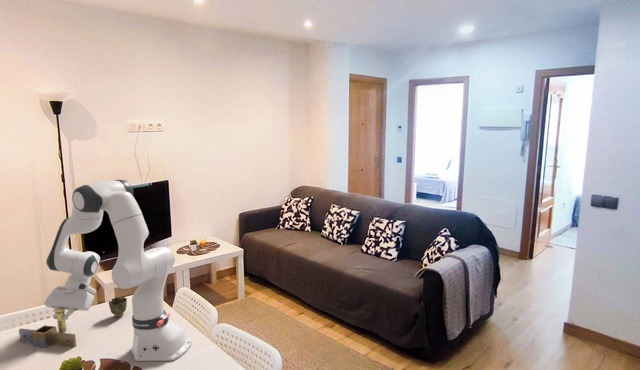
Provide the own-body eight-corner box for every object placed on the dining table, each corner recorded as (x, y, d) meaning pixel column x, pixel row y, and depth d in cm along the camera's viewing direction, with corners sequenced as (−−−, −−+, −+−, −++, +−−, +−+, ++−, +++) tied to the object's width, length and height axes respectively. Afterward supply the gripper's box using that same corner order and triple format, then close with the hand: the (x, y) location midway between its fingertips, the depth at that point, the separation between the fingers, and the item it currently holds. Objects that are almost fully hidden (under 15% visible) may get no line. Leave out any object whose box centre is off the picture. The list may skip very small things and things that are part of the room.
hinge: (81, 342, 156) (79, 328, 155) (69, 350, 150) (68, 336, 149) (27, 336, 160) (25, 323, 160) (14, 344, 155) (13, 330, 154)
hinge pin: (69, 329, 165) (67, 307, 163) (62, 334, 161) (60, 311, 160) (62, 328, 165) (59, 307, 164) (55, 333, 162) (52, 311, 160)
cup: (120, 321, 173) (118, 304, 172) (106, 319, 174) (104, 302, 173) (131, 313, 180) (130, 297, 179) (117, 311, 182) (116, 295, 180)
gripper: (50, 283, 169) (33, 314, 161) (91, 286, 165) (75, 318, 157) (60, 288, 174) (44, 319, 166) (100, 291, 170) (85, 323, 162)
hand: (59, 319), depth 162 cm, fingers closed on hinge pin, 3 cm apart
